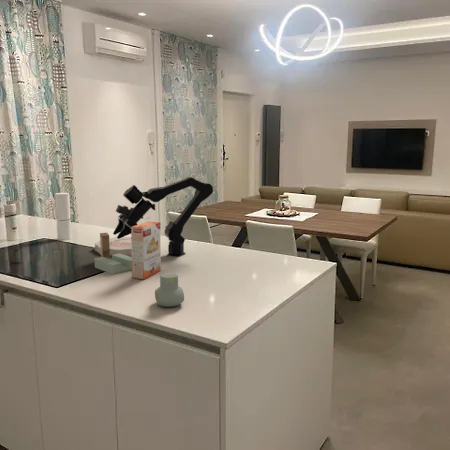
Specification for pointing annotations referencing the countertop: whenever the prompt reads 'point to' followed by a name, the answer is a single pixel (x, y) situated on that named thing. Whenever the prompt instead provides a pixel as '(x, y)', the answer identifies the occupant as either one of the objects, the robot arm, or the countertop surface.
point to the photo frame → (105, 245)
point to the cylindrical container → (63, 216)
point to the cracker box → (145, 249)
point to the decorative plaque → (117, 246)
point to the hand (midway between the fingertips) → (115, 236)
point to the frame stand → (114, 263)
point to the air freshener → (169, 291)
